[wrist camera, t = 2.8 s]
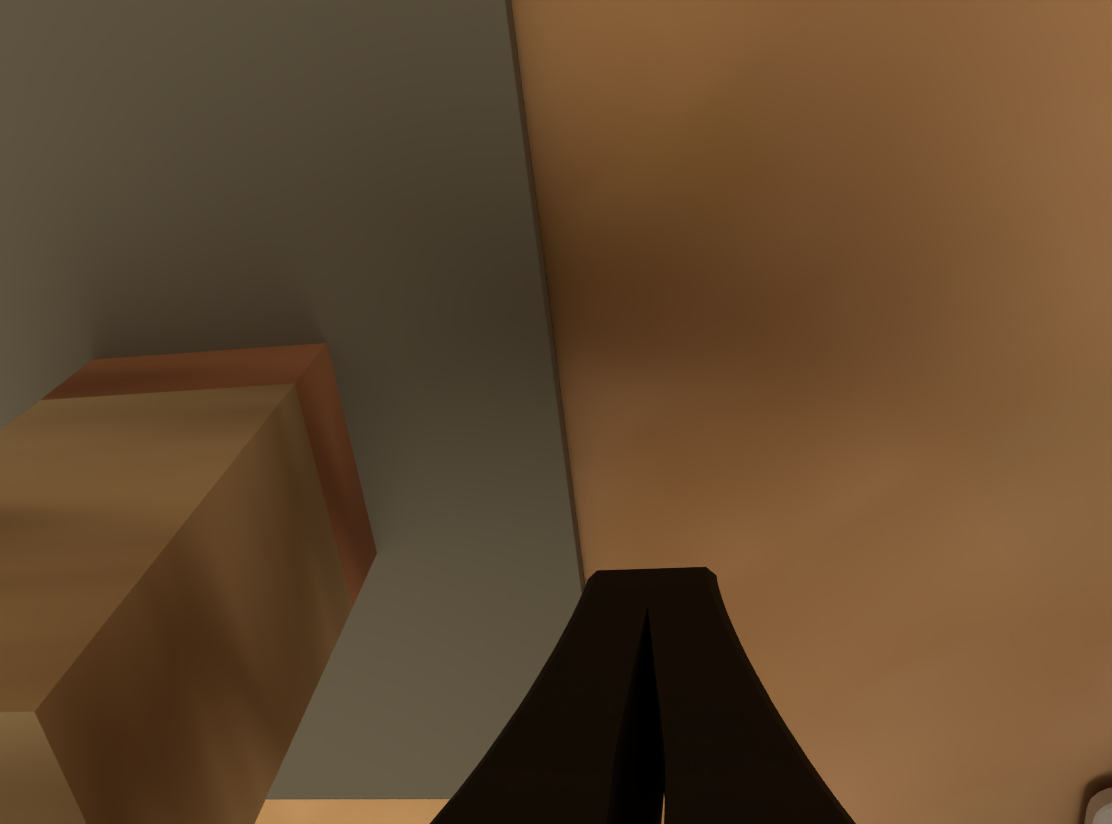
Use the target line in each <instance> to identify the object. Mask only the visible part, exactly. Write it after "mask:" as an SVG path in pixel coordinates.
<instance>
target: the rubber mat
mask: <svg viewBox="0 0 1112 824" xmlns="http://www.w3.org/2000/svg"><path fill="white" fill-rule="evenodd" d="M317 343H327V345H328V349H329V353H330V358H331V362H332V366H333V370H334V374H335V379H336V383H337V387H338V391H339V395H340V400H341V404H342V408H343V412H344V416H345V421H346V425H347V429H348V433H349V437H350V442H351V446H352V450H353V454H354V458H355V463H356V467H357V471H358V475H359V480H360V484H361V488H362V492H363V496H364V501H365V505H366V509H367V513H368V517H369V522H370V526H371V530H372V534H373V538H374V543H375V547H376V551H377V555H376V557H375V559H374V561H373V564H372V566H371V568H370V570H369V572H368V575H367V577H366V579H365V581H364V583H363V586H362V588H361V590H360V592H359V594H358V597H357V599H356V601H355V603H354V605H353V608H352V610H351V612H350V614H349V616H348V619H347V621H346V623H345V625H344V627H343V630H342V632H341V634H340V636H339V638H338V641H337V643H336V645H335V647H334V649H333V652H332V654H331V656H330V658H329V661H328V663H327V665H326V667H325V669H324V672H323V674H322V676H321V678H320V680H319V683H318V685H317V687H316V689H315V691H314V694H313V696H312V698H311V700H310V702H309V705H308V707H307V709H306V711H305V713H304V716H303V718H302V720H301V722H300V724H299V727H298V729H297V731H296V733H295V735H294V738H293V740H292V742H291V744H290V746H289V749H288V751H287V753H286V755H285V757H284V760H283V762H282V764H281V766H280V768H279V771H278V773H277V775H276V777H275V779H274V782H273V784H272V786H271V788H270V790H269V793H268V795H267V797H266V799H451V798H452V797H453V795H454V794H455V793H456V792H457V791H458V789H459V788H460V787H461V786H462V784H463V783H464V782H465V781H466V779H467V778H468V777H469V775H470V774H471V773H472V771H473V770H474V769H475V768H476V766H477V765H478V764H479V762H480V761H481V760H482V758H483V757H484V756H485V754H486V753H487V751H488V750H489V749H490V747H491V746H492V744H493V743H494V741H495V740H496V738H497V737H498V736H499V734H500V733H501V731H502V730H503V728H504V727H505V726H506V724H507V723H508V721H509V720H510V718H511V717H512V716H513V714H514V713H515V711H516V710H517V708H518V707H519V705H520V704H521V702H522V701H523V699H524V698H525V696H526V695H527V693H528V691H529V690H530V688H531V686H532V685H533V683H534V681H535V680H536V678H537V676H538V675H539V673H540V671H541V670H542V668H543V667H544V665H545V663H546V662H547V660H548V658H549V657H550V655H551V653H552V652H553V650H554V648H555V646H556V644H557V643H558V641H559V639H560V637H561V635H562V633H563V632H564V630H565V628H566V626H567V624H568V622H569V620H570V618H571V616H572V614H573V612H574V610H575V608H576V606H577V604H578V602H579V600H580V597H581V595H582V593H583V591H584V588H585V582H584V575H583V567H582V559H581V551H580V543H579V535H578V527H577V519H576V511H575V503H574V496H573V488H572V480H571V472H570V464H569V456H568V448H567V440H566V432H565V425H564V417H563V409H562V401H561V393H560V385H559V377H558V369H557V361H556V353H555V346H554V338H553V330H552V322H551V314H550V306H549V298H548V290H547V282H546V275H545V267H544V259H543V251H542V243H541V235H540V227H539V219H538V211H537V203H536V196H535V188H534V180H533V172H532V164H531V156H530V148H529V140H528V132H527V125H526V117H525V109H524V101H523V93H522V85H521V77H520V69H519V61H518V53H517V46H516V38H515V30H514V22H513V14H512V6H511V0H0V431H1V430H2V429H3V428H5V427H6V426H7V425H8V424H10V423H11V422H12V421H14V420H15V419H16V418H18V417H19V416H20V415H21V414H23V413H24V412H25V411H27V410H28V409H29V408H30V407H32V406H33V405H34V404H36V403H37V402H38V401H39V400H41V399H42V398H43V397H45V396H46V395H47V394H48V393H50V392H51V391H52V390H54V389H55V388H56V387H57V386H59V385H60V384H61V383H63V382H64V381H65V380H67V379H68V378H69V377H70V376H72V375H73V374H74V373H76V372H77V371H78V370H79V369H81V368H82V367H83V366H85V365H86V364H87V363H88V362H90V361H91V360H93V359H107V358H121V357H135V356H149V355H163V354H177V353H191V352H205V351H219V350H233V349H247V348H261V347H275V346H289V345H303V344H317Z"/></svg>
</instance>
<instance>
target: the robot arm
mask: <svg viewBox="0 0 1112 824" xmlns="http://www.w3.org/2000/svg"><path fill="white" fill-rule="evenodd" d="M664 796H665V814H664V824H856V823H855V822H854V821H853V819H852V818H851V817H850V816H849V814H848V813H847V812H846V810H845V809H844V808H843V807H842V805H841V804H840V803H839V801H838V800H837V799H836V797H835V796H834V795H833V793H832V792H831V791H830V789H829V788H828V786H827V785H826V784H825V782H824V781H823V779H822V778H821V777H820V775H819V774H818V772H817V771H816V769H815V768H814V767H813V765H812V764H811V762H810V761H809V759H808V758H807V756H806V755H805V753H804V752H803V750H802V749H801V747H800V746H799V744H798V743H797V741H796V740H795V738H794V736H793V735H792V733H791V732H790V730H789V729H788V727H787V726H786V724H785V722H784V721H783V719H782V717H781V716H780V714H779V713H778V711H777V709H776V708H775V706H774V704H773V703H772V701H771V699H770V697H769V695H768V694H767V692H766V690H765V688H764V686H763V685H762V683H761V681H760V679H759V677H758V676H757V674H756V672H755V670H754V668H753V667H752V665H751V663H750V661H749V659H748V657H747V655H746V653H745V651H744V649H743V647H742V645H741V643H740V641H739V639H738V636H737V634H736V632H735V630H734V628H733V625H732V623H731V621H730V618H729V616H728V613H727V611H726V608H725V606H724V603H723V600H722V597H721V594H720V590H719V587H718V582H717V576H716V575H715V574H714V573H713V572H711V571H710V570H709V569H708V568H707V567H690V568H659V569H629V570H599V571H596V572H595V573H594V574H593V575H592V576H591V577H590V578H589V579H588V581H587V583H586V586H585V588H584V591H583V593H582V595H581V597H580V600H579V602H578V604H577V606H576V608H575V610H574V612H573V614H572V616H571V618H570V620H569V622H568V624H567V626H566V628H565V630H564V632H563V633H562V635H561V637H560V639H559V641H558V643H557V644H556V646H555V648H554V650H553V652H552V653H551V655H550V657H549V658H548V660H547V662H546V663H545V665H544V667H543V668H542V670H541V671H540V673H539V675H538V676H537V678H536V680H535V681H534V683H533V685H532V686H531V688H530V690H529V691H528V693H527V695H526V696H525V698H524V699H523V701H522V702H521V704H520V705H519V707H518V708H517V710H516V711H515V713H514V714H513V716H512V717H511V718H510V720H509V721H508V723H507V724H506V726H505V727H504V728H503V730H502V731H501V733H500V734H499V736H498V737H497V738H496V740H495V741H494V743H493V744H492V746H491V747H490V749H489V750H488V751H487V753H486V754H485V756H484V757H483V758H482V760H481V761H480V762H479V764H478V765H477V766H476V768H475V769H474V770H473V771H472V773H471V774H470V775H469V777H468V778H467V779H466V781H465V782H464V783H463V784H462V786H461V787H460V788H459V789H458V791H457V792H456V793H455V794H454V795H453V797H452V798H451V799H450V800H449V801H448V803H447V804H446V805H445V806H444V807H443V809H442V810H441V811H440V812H439V813H438V814H437V816H436V817H435V818H434V819H433V820H432V822H431V823H430V824H661V821H662V809H663V798H664ZM1084 824H1112V788H1107V789H1104V790H1102V791H1100V792H1098V793H1097V794H1096V795H1095V796H1093V797H1092V798H1091V799H1090V801H1089V804H1088V806H1087V810H1086V816H1085V822H1084Z"/></svg>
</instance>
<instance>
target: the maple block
mask: <svg viewBox="0 0 1112 824" xmlns="http://www.w3.org/2000/svg"><path fill="white" fill-rule="evenodd" d="M376 555H377V551H376V547H375V543H374V538H373V534H372V530H371V526H370V522H369V517H368V513H367V509H366V505H365V501H364V496H363V492H362V488H361V484H360V480H359V475H358V471H357V467H356V463H355V458H354V454H353V450H352V446H351V442H350V437H349V433H348V429H347V425H346V421H345V416H344V412H343V408H342V404H341V400H340V395H339V391H338V387H337V383H336V379H335V374H334V370H333V366H332V362H331V358H330V353H329V349H328V345H327V343H317V344H303V345H289V346H275V347H261V348H247V349H233V350H219V351H205V352H191V353H177V354H163V355H149V356H135V357H121V358H107V359H93V360H91V361H90V362H88V363H87V364H86V365H85V366H83V367H82V368H81V369H79V370H78V371H77V372H76V373H74V374H73V375H72V376H70V377H69V378H68V379H67V380H65V381H64V382H63V383H61V384H60V385H59V386H57V387H56V388H55V389H54V390H52V391H51V392H50V393H48V394H47V395H46V396H45V397H43V398H42V399H41V400H39V401H38V402H37V403H36V404H34V405H33V406H32V407H30V408H29V409H28V410H27V411H25V412H24V413H23V414H21V415H20V416H19V417H18V418H16V419H15V420H14V421H12V422H11V423H10V424H8V425H7V426H6V427H5V428H3V429H2V430H1V431H0V824H255V821H256V819H257V817H258V815H259V813H260V810H261V808H262V806H263V804H264V802H265V799H266V797H267V795H268V793H269V790H270V788H271V786H272V784H273V782H274V779H275V777H276V775H277V773H278V771H279V768H280V766H281V764H282V762H283V760H284V757H285V755H286V753H287V751H288V749H289V746H290V744H291V742H292V740H293V738H294V735H295V733H296V731H297V729H298V727H299V724H300V722H301V720H302V718H303V716H304V713H305V711H306V709H307V707H308V705H309V702H310V700H311V698H312V696H313V694H314V691H315V689H316V687H317V685H318V683H319V680H320V678H321V676H322V674H323V672H324V669H325V667H326V665H327V663H328V661H329V658H330V656H331V654H332V652H333V649H334V647H335V645H336V643H337V641H338V638H339V636H340V634H341V632H342V630H343V627H344V625H345V623H346V621H347V619H348V616H349V614H350V612H351V610H352V608H353V605H354V603H355V601H356V599H357V597H358V594H359V592H360V590H361V588H362V586H363V583H364V581H365V579H366V577H367V575H368V572H369V570H370V568H371V566H372V564H373V561H374V559H375V557H376Z"/></svg>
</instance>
